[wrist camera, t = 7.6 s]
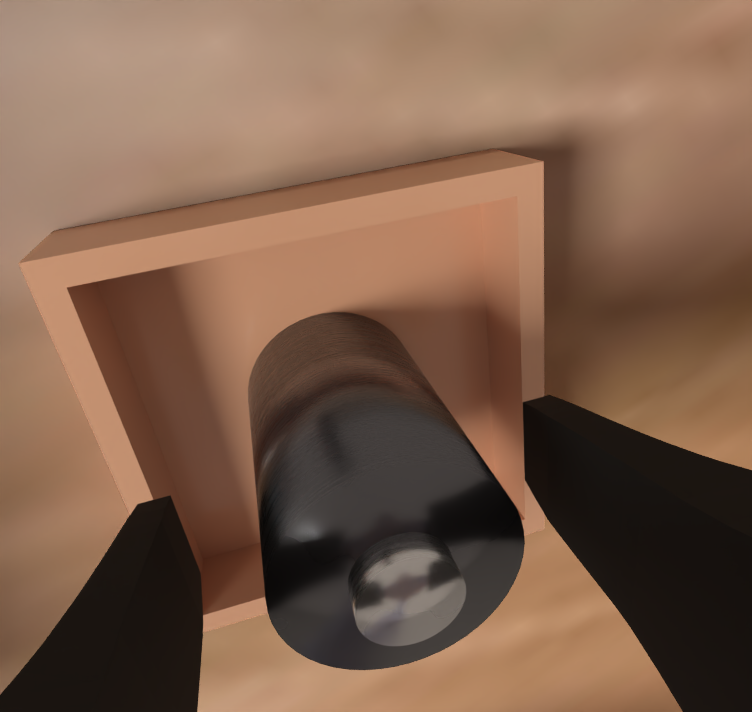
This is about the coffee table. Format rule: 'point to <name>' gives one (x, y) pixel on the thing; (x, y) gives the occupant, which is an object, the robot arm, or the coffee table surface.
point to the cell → (370, 500)
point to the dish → (283, 308)
